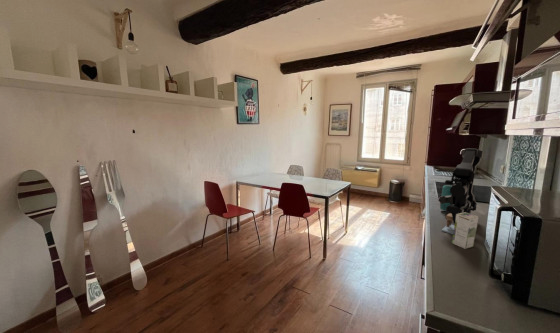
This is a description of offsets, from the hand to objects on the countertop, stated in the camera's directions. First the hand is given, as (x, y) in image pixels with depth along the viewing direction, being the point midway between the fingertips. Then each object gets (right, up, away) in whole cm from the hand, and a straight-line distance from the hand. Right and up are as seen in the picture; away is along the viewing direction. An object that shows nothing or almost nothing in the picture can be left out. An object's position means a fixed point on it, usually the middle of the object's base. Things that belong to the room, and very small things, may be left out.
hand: (456, 222), depth 117 cm
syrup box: (-8, -7, -13) cm, 17 cm away
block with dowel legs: (0, -3, +1) cm, 3 cm away
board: (0, -5, +1) cm, 5 cm away
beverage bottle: (+14, 0, +27) cm, 31 cm away
